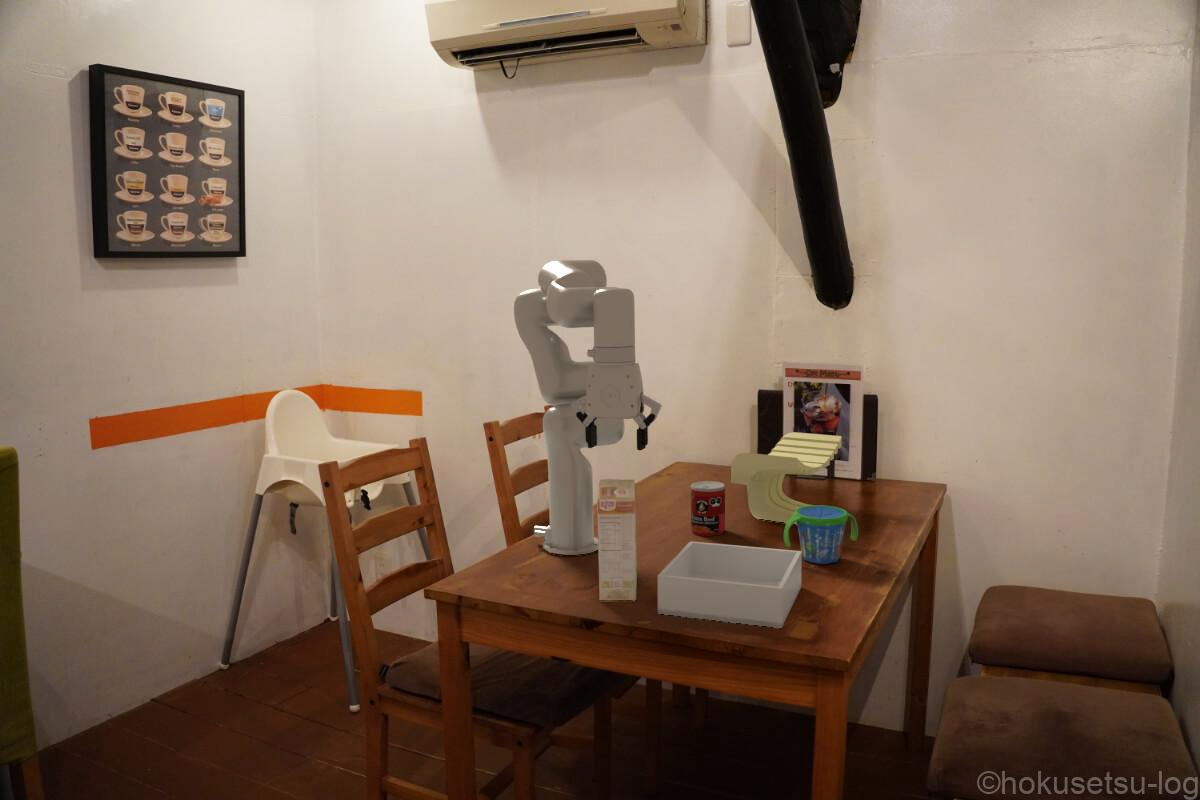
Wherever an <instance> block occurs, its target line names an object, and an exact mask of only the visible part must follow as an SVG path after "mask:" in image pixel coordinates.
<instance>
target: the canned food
mask: <svg viewBox="0 0 1200 800" xmlns="http://www.w3.org/2000/svg"><path fill="white" fill-rule="evenodd" d="M690 529H691V533H692V534H693V535H697V536H700V535H701V536H700V537H715V536H714V535H716V536H719V535H722V534H723V533H724V532H725V530H726V486H725V483H723V482H720V481H715V480H713V481H712V480H711V481H710V480H705V481H704V480H703V481H696V482H693V483H691V485H690Z"/></svg>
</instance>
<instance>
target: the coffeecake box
mask: <svg viewBox="0 0 1200 800" xmlns="http://www.w3.org/2000/svg"><path fill="white" fill-rule="evenodd" d="M635 494H636V493H635V479H612V478H610V479H609V478H608V479H607V478H605V479H599V483H598V489H597V496H596V505H597V507H596V508H597V539H598V551H597V552H598V588H599V589H598V590H599V595H598V596H599V600H633V601H632V602H636V601H637V587H638V586H637V585H638V584H637V579H638V578H637V577H638V576H637V575H638V574H637V572H638V570H637V569H638V568H637V565H638V564H637V525H636V524H637V523H636V521H637V520H636V519H637V516H636V495H635ZM635 600H636V601H635Z"/></svg>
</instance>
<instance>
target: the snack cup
mask: <svg viewBox="0 0 1200 800" xmlns="http://www.w3.org/2000/svg"><path fill="white" fill-rule="evenodd" d="M812 505H813V506H805V507H801V508H798V509H797V510H796V511H795V514H794V515H793V516H792V517H790V518H789V520H788V521H787V523H785V526H784V530H783V542H784V544H785V546H786V547H787V548H790V547H791V542H790V541H791V540H790V529H791V527H792V526H793V523H794V522H795V521H796V522H797V525H796V526H797V529H798V535H799V537H798V538H799V543H800V551H802V557H803V558H802V559H803V560H804V561H807V562H809V563H813V564H819V565H820V564H821V565H825V564H832V563H837V562H838V560H839V559H840V557H841V553H842V548H843V539H844V533H845V527H846V523H847V521H848V518H849V519H850V540H852V541H853V542H856V541H857V540H858V536H859V526H858V522H857V519H856V518H855V516H853V515H852V514H851V513H849V512H848V511H847V510H845V509H843V508H841V507H838V506H833V505H825V504H824V505H823V504H822V505H820V504H819V505H814V504H812Z"/></svg>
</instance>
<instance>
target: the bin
mask: <svg viewBox="0 0 1200 800" xmlns="http://www.w3.org/2000/svg"><path fill="white" fill-rule="evenodd" d="M802 557H803V556H802V551H801V550H791V549H779V548H778V549H777V548H767V547H756V546H747V545H736V544H734V545H733V544H724V543H711V542H702V541H701V542H699V541H692V540H691V541H688V543H687V544H686V545H685V546H684V547H683V548H682V549H681V550H680V551H679V552H678V554H676V555H675V556H674V558H673V559H672V560H671V561H670V562H669V563H668V564H667V565H666V566H665V567H664V568H663V570H662V571H660V573H659V574H658V575H657V615H660V614H664V615H663V616H668V615H674V616H673V617H677V616H681V617H680V618H685V617H687V618H688V619H694V618H697V619H696V620H702V619H706V620H705V621H711V620H716V621H715V622H719V621H722V623H728V622H730V624H736V623H741V624H740V625H745V624H748V625H747V626H753V625H758V626H757V627H762V626H767V627H766V628H770V627H773V628H772V629H779V628H782V629H783V626H784V624H785V623H786V620H787V618H788V616H789V613H790V611H791V609H792V608H793V605H794V604H795V601H796V599H797V597H798V596H799V593H800V591H801V589H802V561H803V560H802V559H803V558H802ZM698 618H699V619H698ZM707 619H708V620H707ZM784 622H785V623H784Z"/></svg>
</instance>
